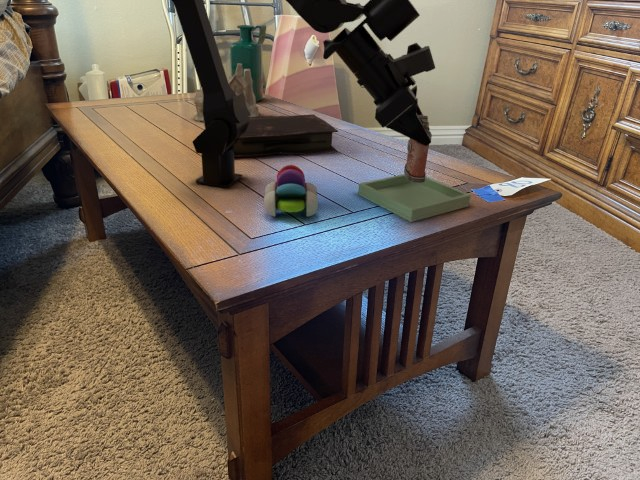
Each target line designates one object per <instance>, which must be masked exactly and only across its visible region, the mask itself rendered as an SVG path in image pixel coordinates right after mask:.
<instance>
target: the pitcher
mask: <svg viewBox="0 0 640 480" xmlns="http://www.w3.org/2000/svg"><path fill="white" fill-rule="evenodd" d="M236 28H237V29H239V39H238V40H237V41H234V42H232V43H231V44H230V46H229V58H230V59H229V61H230V62H229V63H230V77H233V76H234V75H235V74H236V68H237V65H238V64H242V68H243V75H242V76H243V77H244V69H250V71H251V78H252V81H253V82H252V87H253V93H254V95H255V100H256V103H258V102H260V101H261V100H263V98H264V94H263V93H264V79H263V78H264V77H263V74H264V73H263V70H264V69H263V68H264V66H263V65H264V64H263V44H264V43H265V39H266V35H267V34H266V33H267V26H266V24H260V25H256V26H254V25H251V24H238V25H236ZM254 31H255V32H256V31H259V32H258V39H257V41H255V40H254V39H253V32H254Z"/></svg>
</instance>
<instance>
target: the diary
mask: <svg viewBox="0 0 640 480" xmlns="http://www.w3.org/2000/svg"><path fill="white" fill-rule="evenodd" d="M248 119H249V125H248V128H247V129H246V131H245V132H244V133H243V134H242V135H241V136H240V137H239V140H238V142H237V143H235V144H234V158H235V157H236V158H237V157H259V156H260V157H261V156H270V155H279V154H281V155H282V154H284V155H285V154H286V155H314V154H315V155H316V154H317V155H318V154H323V153H333V152H334V153H335V152H336V153H337V152H338V150H337V149H336V148H335V147H334V146H333V134H334V133H339V130H338V129H337V128H336V127H334V126H332V125H331V124H330V123H328V122H327V121H326V120H325V119H322V118H321V117H318V116H317V115H316V114H299V115H298V114H297V115H259V116H258V117H248Z"/></svg>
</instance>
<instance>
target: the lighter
mask: <svg viewBox="0 0 640 480" xmlns="http://www.w3.org/2000/svg"><path fill="white" fill-rule="evenodd" d="M418 117H419V119H420V121H421V123H422V124H423V126H424V128H425V130H426V132H427V134H428V136H429V138H430V140H431V141H432V137H433V136H432V132H431V130H428V127H429V128H430V122H429V116H428V115H424V114H423V115H418ZM406 147H407V155H406V163H405V164H404V170H403V174H405V176H406V178H407V179H408V180H409V181H410V182H414V183H423V182H425V176H426V177H427V173H426V168H427V160H428V154H429V147H430V144H429V145H427V146H425V145H423V144H421V143H419V142H417V141H415V140H413V139H411V138H409V139H408V141H407V146H406Z"/></svg>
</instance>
